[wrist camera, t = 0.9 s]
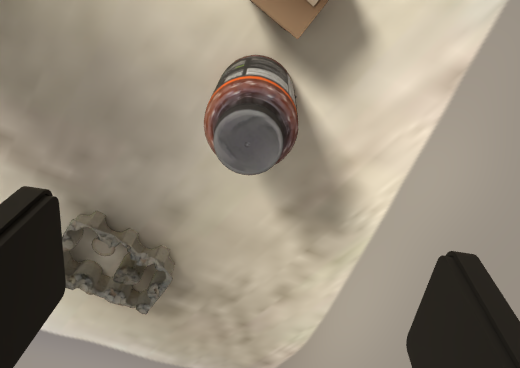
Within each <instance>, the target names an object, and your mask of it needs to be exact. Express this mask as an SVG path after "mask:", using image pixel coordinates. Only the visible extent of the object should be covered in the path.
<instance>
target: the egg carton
mask: <svg viewBox="0 0 520 368" xmlns="http://www.w3.org/2000/svg"><path fill="white" fill-rule="evenodd" d="M105 218H106V216H105V215H104V214H102V213H100V212H98V211H95V212H94V213H93V214H92V215H79V216H78V217H77V218H76V219H75V220H74V219H73V220H72V221H71V223H70V225H69V227H68V228H67V229H66V231H65V233H64V235H63V237H62V244H63V256H64V267H65V279H66V287H65V288H68V289H71V290H73V289H75V288H80V289H81V290H83V291H85V292H86V293H87V294H89V295H93V294H94V295H97V296H99V297H102V298H104V299H106V300H107V301H109V302H110V303H115V304H118V305H122V306H128V307H130V308H135V307H136V310H138V311H139V312H140V313H142V314H147V313H148V311H149V309H150V308H151V307H152V306H153V305H154V304H155V302H156V301H157V300H158V298H159V297H160V296H161V295H162V293H163V292H164V291H165V290H166V288H167V287H168V285H169V284H170V283H171V281H172V277H171V273H172V271H173V268H174V265H175V263H174V262H173V261H172V260H171V258H170V257H169V251H170V249H169V248H167V247H165V246H163V245H161V246H159V247H157V248H155V249H148V248H146V247H144V246H142V245H141V244H140V242H139V240H138V235H139V233H138V232H136V231H134V230H132V229H130V228H129V229H127V230H126V231H124V232H115V231H113V230H111V229H110V228H109V227H108V226H107V225H106V222H105ZM84 227H88V228H91V229H93V230H94V232H96V233H97V236H98V238H95V239H94V240H93V242H92V247H93V249H94V251H95V252H96V253H98V254H99V255H103V256H109V255H111V254H113V253H114V251H115V247H116V246H117V245H118V244H119V243H122V245H123V246H124V247H125V248H127V247H128V246H130V248H129V249H128V248H127V251H128V252H129V253H130V254H127V255H126V256H125V257H124V258H123V260H122V262H121V264H120V266H119V268H118V269H117V271H116V273H115V275H114V277H112V278H111V277H109V276H106V275H103V274H102V268H101V266H100V265H99V264H98V263H97V262H95V261H92V260H85V261H82V262H81V263H79V262H77V261H75V260H73V259H72V258H71V253H70V250H71V249H73V248H74V247H75V246H76V244H77V243H78V241H79V240H80V239H81V237H82V235H83V229H82V228H84ZM153 263H154V264H155V268H156V270H157V271H156V272H155V273H154V275H153V278H152V280H151V283H150V285H149V287H148V289H147V290H145V291H143V292H141V293H140V292H137V291H135V290H133V289H132V285H133V284H136V283H138V282H139V281H140V279H141V277H142V275H143V272H144V270H145V268H146V266H147V267H148V266H149V265H151V264H153Z"/></svg>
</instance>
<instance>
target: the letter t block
mask: <svg viewBox="0 0 520 368" xmlns="http://www.w3.org/2000/svg"><path fill="white" fill-rule="evenodd" d="M250 1H251V2H252V3H254V4H255V5H256V6H257V7H258V8H259V9H261V10H262V11H263V12H264V13H265V14H267V15H268V16H269V17H270V18H271V19H273V20H274V21H275V22H276V23H277V24H278V25H280V26H281V27H282V28H283V29H284V30H287V31H288V32H289V33H291V34H292V35H293V36H294V37H295V38H297V39H298V38H299V37H300V36H301V35H302V33H303V32H304V31H305V29H306V28H307V27H308V26H309V24H310V23H311V22H312V21H313V19H314V18H315V17H316V16H317V14H318V13H319V12H320V10H321V9H322V8H323V7H324V5H325V4H326V3H327V2H328V0H250Z"/></svg>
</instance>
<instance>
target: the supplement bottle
mask: <svg viewBox="0 0 520 368" xmlns="http://www.w3.org/2000/svg"><path fill="white" fill-rule="evenodd" d="M294 93H295V92H294V88H293V84H292V81H291V78H290V76H289V74H288V73H287V71H286V70H285V68H284V67H283V66H282V65H281V64H280V63H278V62H277V61H275V60H273V59H271V58H269V57H265V56H261V55H251V56H246V57H243V58H241V59H238V60H236V61H235V62H234V63H232V64H231V65H230V66H229V67H228V68H227V69H226V70H225V72H224V73H223V75H222V77H221V79H220V81H219V82H218V85H217V87H216V89H215V91H214V93H213V95H212V97H211V99H210V101H209V103H208V106H207V109H206V112H205V118H204V130H205V135H206V138H207V141H208V143H209V145H210V147H211V149H212V150H213V152H214V153H215V154H216V155H217V157H218V159H219V160H220V161H221V162H222V164H223V165H225V166H226V167H227V168H228V169H230V170H232V171H234V172H236V173H239V174H243V175H255V174H260V173H262V172H265V171H267V170H269V169H270V168H271V167H272V166H274V165H275V164H277V163H279V162H280V161H281V160H282V159H284V157H285V156H286V155H287V154H288V153H289V152H290V150H291V149H292V147H293V145H294V143H295V140H296V138H297V133H298V115H297V108H296V101H295V99H296V97H295V94H294Z"/></svg>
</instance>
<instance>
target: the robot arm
mask: <svg viewBox="0 0 520 368" xmlns="http://www.w3.org/2000/svg"><path fill="white" fill-rule="evenodd" d="M65 287H66V279H65V267H64V256H63V244H62V233H61V221H60V210H59V201H58V199H57V197H54V196H52V193H51V191H49V190H47V189H40V188H34V187H27V186H23V187H21V188H20V189H19V190H17V191H16V192H15V193H14V194H12V195H11V196H10V197H9V198H7V199H6V200H5V201H4V202H2V203H1V204H0V368H13V367H14V366H15V364H16V363H17V361H18V360H19V358H20V357H21V356H22V354H23V353H24V351H25V350H26V349H27V347H28V346H29V344H30V343H31V341H32V340H33V339H34V337H35V336H36V334H37V333H38V331H39V330H40V329H41V327H42V326H43V324H44V323H45V321H46V320H47V319H48V317H49V316H50V314H51V313H52V311H53V310H54V309H55V307H56V306H57V304H58V303H59V301H60V300H61V298H62V297H63V294H64V292H65ZM406 345H407V352H408V355H409V358H410V362H411V365H412V368H520V321H519V320H518V318H517V317H516V315H515V314H514V312H513V310H512V309H511V308H510V306H509V304H508V303H507V301H506V300H505V298H504V297H503V295H502V294H501V292H500V291H499V289H498V287H497V286H496V284H495V283H494V281H493V280H492V278H491V277H490V275H489V273H488V272H487V270H486V269H485V267H484V266H483V264H482V263H481V261H480V260H479V258H478V257H477V256H476V255H474V254H468V253H461V252H454V251H450V252H448V253H447V254H446V256H440V257H439V259H438V261H437V263H436V265H435V268H434V270H433V273H432V275H431V278H430V280H429V283H428V285H427V288H426V291H425V293H424V296H423V298H422V301H421V303H420V306H419V308H418V311H417V313H416V316H415V318H414V321H413V323H412V326H411V328H410V331H409V333H408V336H407V344H406Z"/></svg>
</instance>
